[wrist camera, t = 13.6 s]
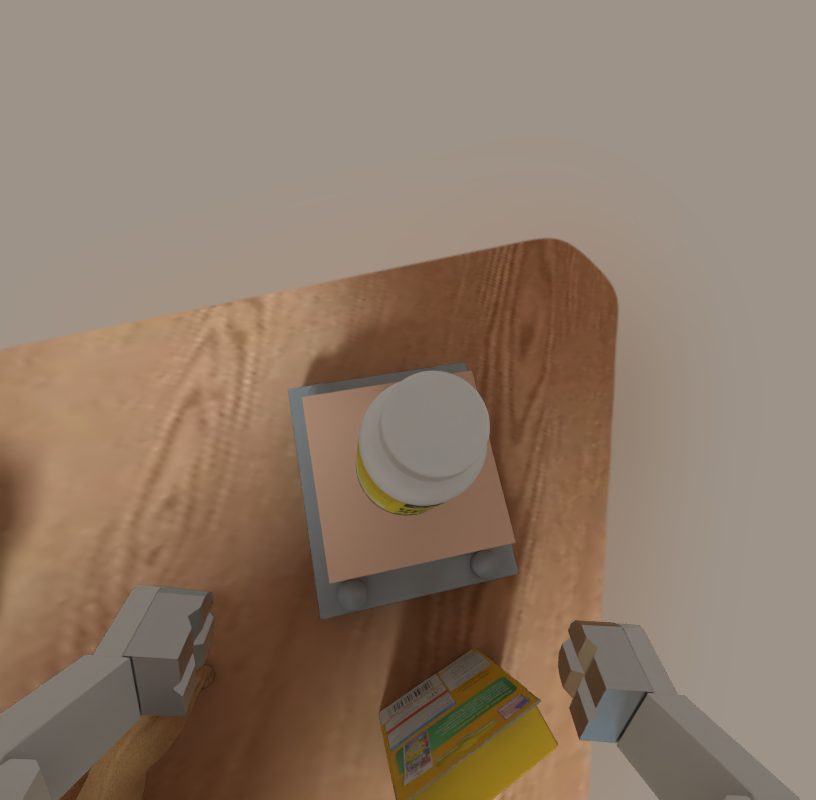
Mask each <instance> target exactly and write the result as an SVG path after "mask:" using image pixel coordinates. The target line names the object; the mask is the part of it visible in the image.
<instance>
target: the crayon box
mask: <svg viewBox="0 0 816 800" xmlns="http://www.w3.org/2000/svg"><path fill="white" fill-rule="evenodd" d="M539 702H541V700H540V699H538V698H537V697H535V696H534V695H533V694H532V693H531V692H529V691H528V690H527V688H525V687H524V686H523V685H521V684H520V683H519V682H518V681H517V680H515V679H514V678H513V677H511V676H510V675H509V674H508V673H506V672H505V671H504V670H503V669H502V668H500V667H499V666H498V665H497V664H495V663H494V662H493V661H492V660H490V659H489V658H488V657H487V656H485V655H484V654H483V653H482V652H480V651H479V650H478V649H477V648H471V649H470V650H469V651H467V652H466V653H465V654H464V655H462V656H461V657H459V658H458V659H456V660H455V661H453V662H452V663H450V664H449V665H448V666H446V667H445V668H443V669H442V670H440V671H439V672H437V673H436V674H434V675H433V676H431V677H430V678H428V679H427V680H425V681H424V682H422V683H421V684H419V685H418V686H416V687H415V688H413V689H412V690H411V691H409V692H408V693H406V694H405V695H403V696H402V697H401V698H399V699H398V700H396V701H395V702H393V703H392V704H391V705H389V706H388V707H386V708H384V709H383V710H382V711H380V712H379V718H380V723H381V728H382V734H383V738H384V744H385V749H386V753H387V759H388V764H389V769H390V774H391V779H392V783H393V788H394V792H395V796H396V800H492V799H493V798H495V797H496V796H497V795H498V794H500V793H501V792H502V791H503V790H505V789H506V788H507V787H508V786H510V785H511V784H512V783H514V782H515V781H516V780H517V779H519V778H520V777H521V776H522V775H523V774H525V773H526V772H527V771H528V770H530V769H531V768H532V767H533V766H535V765H536V764H537V763H538V762H540V761H541V760H542V759H544V758H545V757H546V756H547V755H548V754H550V753H551V752H552V751H553V750H554V749H555V748H556V747H557V746H558V743H557V741H556V740H555V738H554V736H553V734H552V733H551V731H550V729H549V727H548V725H547V723H546V722H545V720H544V718H543V716H542V715H541V713H540V711H539V709H538V707H537V706H536V705H537V704H538V703H539Z"/></svg>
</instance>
